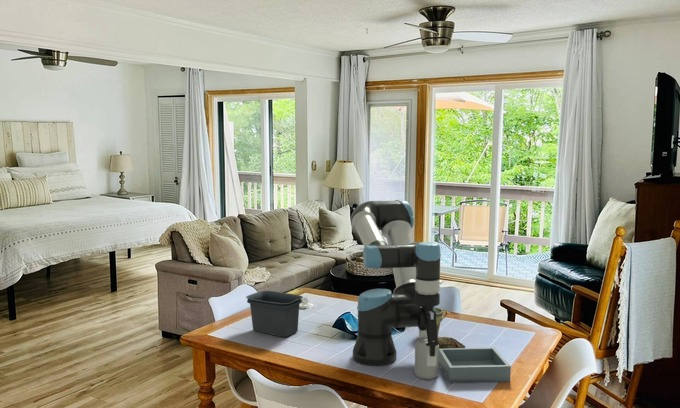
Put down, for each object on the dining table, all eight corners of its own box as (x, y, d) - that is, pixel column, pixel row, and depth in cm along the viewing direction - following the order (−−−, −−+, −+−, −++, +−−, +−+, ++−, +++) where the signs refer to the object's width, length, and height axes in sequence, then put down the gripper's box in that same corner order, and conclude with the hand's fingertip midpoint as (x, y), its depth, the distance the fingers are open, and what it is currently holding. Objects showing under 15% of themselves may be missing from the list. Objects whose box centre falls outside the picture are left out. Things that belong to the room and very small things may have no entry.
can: (438, 381, 172) (438, 344, 171) (413, 379, 174) (414, 342, 172) (438, 371, 179) (439, 336, 178) (415, 370, 181) (415, 334, 180)
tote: (449, 383, 171) (449, 367, 170) (438, 362, 187) (438, 348, 186) (510, 381, 172) (510, 366, 171) (493, 361, 188) (494, 347, 187)
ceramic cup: (425, 341, 208) (425, 315, 206) (411, 333, 217) (411, 308, 216) (454, 336, 213) (454, 311, 212) (439, 328, 222) (439, 304, 221)
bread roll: (423, 349, 201) (423, 335, 200) (446, 341, 208) (446, 328, 207) (449, 359, 190) (449, 345, 190) (473, 351, 198) (473, 338, 197)
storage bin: (243, 331, 219) (242, 296, 217) (267, 321, 232) (266, 287, 231) (286, 341, 208) (285, 304, 206) (309, 329, 221) (309, 294, 220)
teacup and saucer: (305, 310, 248) (305, 301, 248) (291, 307, 253) (291, 299, 252) (317, 305, 255) (317, 297, 255) (303, 303, 260) (303, 294, 259)
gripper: (449, 302, 161) (448, 372, 163) (431, 282, 186) (430, 343, 188) (423, 302, 161) (422, 373, 163) (409, 282, 186) (408, 344, 188)
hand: (427, 357), depth 176 cm, fingers open, 13 cm apart
